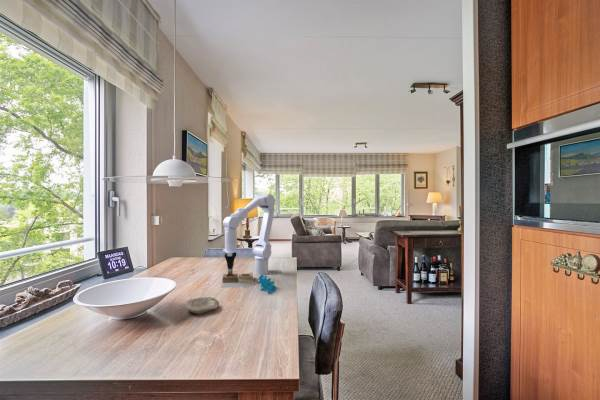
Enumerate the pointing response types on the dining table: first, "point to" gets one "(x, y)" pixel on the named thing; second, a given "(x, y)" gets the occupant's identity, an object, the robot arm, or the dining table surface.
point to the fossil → (201, 305)
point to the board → (238, 284)
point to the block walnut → (230, 278)
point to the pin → (230, 271)
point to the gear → (267, 284)
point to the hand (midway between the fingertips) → (230, 268)
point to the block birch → (245, 277)
